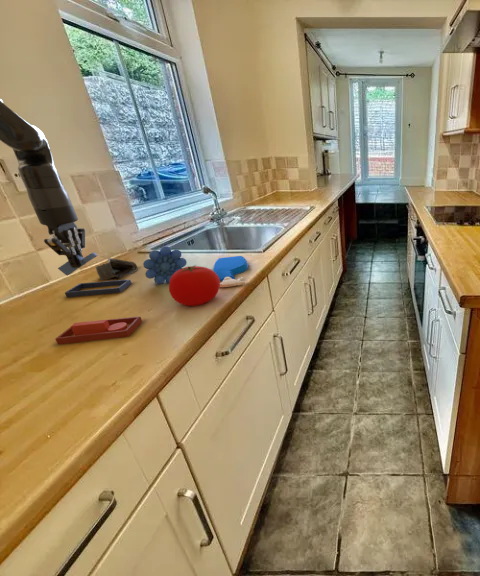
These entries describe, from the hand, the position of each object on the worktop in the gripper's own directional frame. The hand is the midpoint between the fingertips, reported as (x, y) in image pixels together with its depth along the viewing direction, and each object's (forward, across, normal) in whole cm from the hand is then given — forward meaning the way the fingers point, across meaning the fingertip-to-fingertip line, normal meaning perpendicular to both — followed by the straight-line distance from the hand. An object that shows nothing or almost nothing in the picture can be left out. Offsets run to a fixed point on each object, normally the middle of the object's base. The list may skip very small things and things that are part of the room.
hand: (78, 265), depth 92 cm
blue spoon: (0, 0, +1) cm, 1 cm away
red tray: (+9, +28, +17) cm, 34 cm away
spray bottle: (+9, -5, +39) cm, 40 cm away
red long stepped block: (+8, +28, +17) cm, 34 cm away
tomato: (+9, +15, +34) cm, 38 cm away
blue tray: (+9, 0, +3) cm, 9 cm away
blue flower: (+9, -3, +21) cm, 23 cm away
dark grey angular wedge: (+9, -14, +1) cm, 17 cm away
